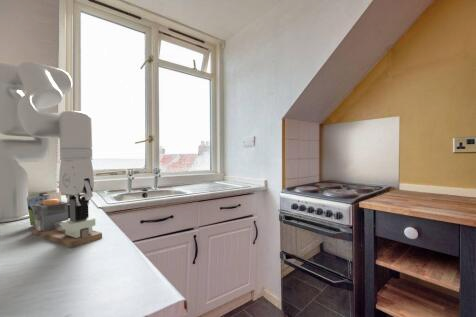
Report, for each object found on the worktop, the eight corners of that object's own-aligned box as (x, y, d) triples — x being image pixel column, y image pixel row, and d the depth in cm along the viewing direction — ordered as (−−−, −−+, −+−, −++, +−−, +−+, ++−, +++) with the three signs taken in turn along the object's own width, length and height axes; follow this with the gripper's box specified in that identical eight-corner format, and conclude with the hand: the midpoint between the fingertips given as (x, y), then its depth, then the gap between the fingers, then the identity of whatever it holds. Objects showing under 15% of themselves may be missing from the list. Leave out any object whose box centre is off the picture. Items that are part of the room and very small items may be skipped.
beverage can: (42, 228, 75) (41, 193, 74) (21, 228, 75) (20, 193, 75) (58, 222, 81) (57, 190, 81) (38, 222, 81) (37, 190, 81)
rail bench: (31, 233, 70) (30, 205, 70) (61, 225, 77) (60, 200, 77) (71, 248, 58) (70, 214, 58) (102, 237, 65) (101, 207, 65)
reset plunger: (40, 208, 71) (40, 200, 71) (55, 205, 74) (55, 198, 74) (46, 209, 69) (46, 201, 69) (61, 206, 72) (61, 199, 72)
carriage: (61, 235, 63) (60, 200, 63) (84, 229, 68) (83, 196, 68) (72, 239, 60) (71, 202, 60) (95, 232, 65) (94, 198, 65)
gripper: (47, 155, 64) (49, 218, 64) (77, 154, 56) (79, 226, 57) (76, 155, 71) (77, 212, 71) (106, 154, 63) (108, 218, 63)
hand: (78, 217), depth 64 cm, fingers closed on carriage, 3 cm apart
